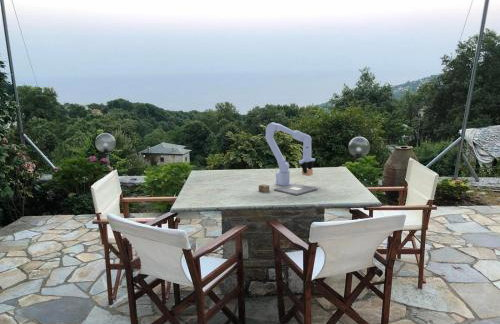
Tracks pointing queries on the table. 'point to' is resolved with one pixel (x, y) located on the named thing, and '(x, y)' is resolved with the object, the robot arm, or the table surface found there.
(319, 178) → the table surface
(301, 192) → the tower board
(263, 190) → the brick walnut
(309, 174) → the brick terracotta
